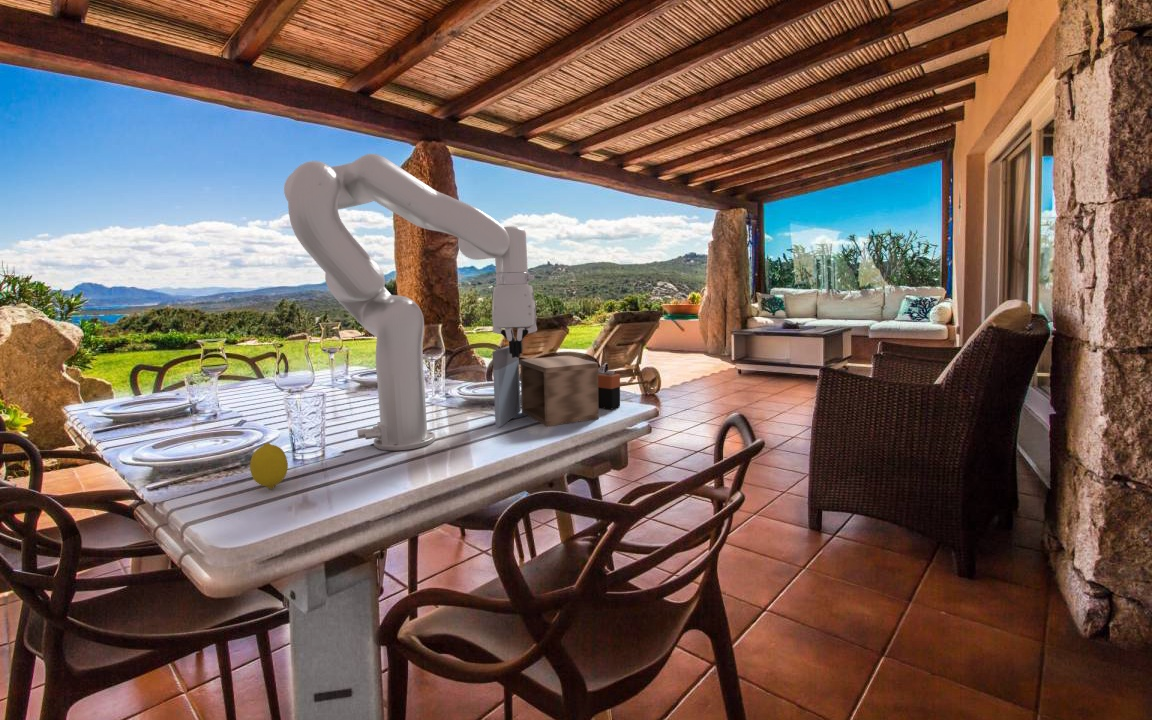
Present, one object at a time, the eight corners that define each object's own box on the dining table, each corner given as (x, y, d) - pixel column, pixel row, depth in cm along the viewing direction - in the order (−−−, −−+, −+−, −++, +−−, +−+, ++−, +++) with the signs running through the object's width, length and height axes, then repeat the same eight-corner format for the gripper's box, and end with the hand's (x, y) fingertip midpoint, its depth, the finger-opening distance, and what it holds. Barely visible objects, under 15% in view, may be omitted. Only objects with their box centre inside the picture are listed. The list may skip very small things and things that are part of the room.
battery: (611, 410, 145) (611, 372, 143) (591, 406, 149) (590, 370, 148) (620, 407, 148) (620, 370, 147) (600, 403, 152) (600, 368, 151)
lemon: (250, 497, 90) (245, 450, 89) (255, 485, 95) (250, 441, 94) (288, 491, 92) (284, 445, 91) (290, 480, 97) (286, 436, 96)
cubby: (547, 426, 130) (545, 368, 128) (521, 412, 144) (520, 359, 142) (598, 418, 136) (597, 362, 134) (569, 406, 150) (568, 355, 148)
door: (495, 426, 129) (492, 351, 126) (516, 411, 144) (513, 343, 141) (500, 427, 129) (497, 351, 126) (520, 411, 144) (518, 343, 141)
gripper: (545, 279, 133) (548, 353, 136) (484, 281, 134) (489, 355, 137) (541, 279, 126) (545, 358, 129) (477, 281, 127) (482, 360, 130)
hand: (516, 356), depth 133 cm, fingers closed
